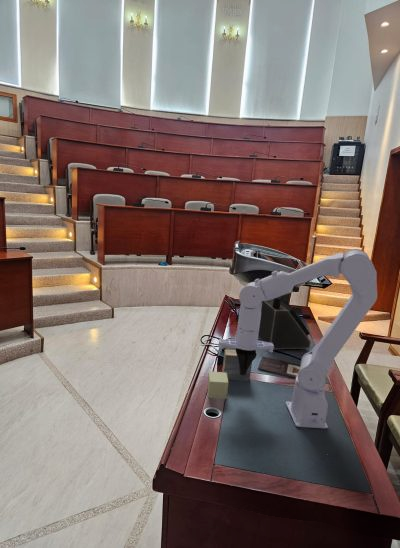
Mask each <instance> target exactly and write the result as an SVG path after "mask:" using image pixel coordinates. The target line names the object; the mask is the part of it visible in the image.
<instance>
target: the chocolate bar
mask: <svg viewBox="0 0 400 548" xmlns="http://www.w3.org/2000/svg"><path fill="white" fill-rule="evenodd" d="M300 366H301V364H297V363H294V362H289V361H285V360H281V359H276V358H272V357H268V356H264V355H263V356H262V357H261V360H260V362H259V365H258V366H257V367H258V368H257V370H258V371H263V372H265V373H270V374H274V375H278V376H282V377H287V378H291V379H295V380H296V376H297V375H298V373H299V371H300Z"/></svg>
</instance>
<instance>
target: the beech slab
mask: <svg viewBox="0 0 400 548" xmlns="http://www.w3.org/2000/svg"><path fill="white" fill-rule="evenodd" d="M223 352H224V353H223V354H224V355H223V361H222V362H223V363H222V372H223V373H227V378H228V381H229V380H230V381H231V380H232V381H246V382H249V381H250V380H251V375H252V374H251V372H252V366H253V362H252V363H251V364H250V366H249V368H248V370H247V372H246V375H240V372H239V370H240V368H239V360H238V356H237V353H236V350H235V349H224V351H223Z"/></svg>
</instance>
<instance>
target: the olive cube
mask: <svg viewBox="0 0 400 548" xmlns="http://www.w3.org/2000/svg"><path fill="white" fill-rule="evenodd" d="M207 377H208V378H207V387H206V388H207V398H209V399H224V400H225V399H227V397H228V389H229V380H228V378H227V373H223V372H221V371H208V376H207Z"/></svg>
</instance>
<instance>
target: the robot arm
mask: <svg viewBox="0 0 400 548" xmlns="http://www.w3.org/2000/svg"><path fill="white" fill-rule="evenodd" d="M377 273H378V272H377V270H376V269H375V266H374V263H373V261H372V260H371V259H370V257H369V255H368V254H367V253H366V252H365V251H364V250H362V249H360V248H351V249H348V250H347V251H345V252H344V253H343V252H338V253H335V254H331V255H329V256H326V257H324V258H322V259H319V260H316V261H314V262H313V263H311V264H308V265H305V266H304V267H301V268H299V269H296V270H293V271H292V272H286V271H284V270H280V271H278V270H274V271H272V272H271V274H270V275H268V276H266V277H264V278H256V279H255V280H254V281H252V282H249V283H247V284H246V285H245V286H244V287H243V288H242V289H241V290H240V291H239V295H238V299H239V302H240V307H239V312H238V320H237V329H236V336H235V338H226V339H224V338H222V339H221V338H219V339H218V349H219V350H224V349H229V350H236V353H237V356H238V360H239V368H240V370H239V372H240V375H246V372H247V370H248V368H249V366H250V364H251V363H252V364H253V361H254V360H255V359H256V357H257V355H258V353H257V351H259V352H260V351H261V352H262V351H264V352H268V353H274V351H273V349H274V345H273V344H272V343H269V342H263V341H262V340H259V337H258V334H259V327H260V320H261V308H262V303H261V302H262V301H269V300H272V299H274V298H277V297H280V298H281V297H282V296H285V295H288V294H290V293H292V291H293V289H294V287H295V286H297V285H299V284H304V283H306V282H309V281H312V280H315V279H317V278H322V277H323V276H329V277H332V278H336V279H340V274H341V275H342V276H343V277H344V279H345V280H346V281H347V283H348V284H349V287H350V290H351V295H350V296H349V298H348V299H347V301H346V303H345V304H344V305H343V306H342V308H341V309H340V311H339V312H338V313H337V315H336V317H335V318H334V320H333V321H332V323H331V325H330V326H329V327H328V328H327V330H326V331H325V333H324V335H322V337H321V339H320V341H318V343H316V345H315V346H313V348H312V349H311V350H310V351H308V352H306V353H305V354H303V356H302V357H301V360H300V365H301V366H300V371H299V373H298V375H297V376H296V379H295V382H294V387H293V393H292V398H291V401H285V405H286V407H287V410H288V411H289V414H290V416H291V418H292V421H293V422H294V425H295V427H298V428H310V429H311V428H314V429H328V427H329V426H328V424H327V423H326V420H327V419H326V418H327V414H328V409H329V404H328V401H327V399H326V395H325V391H326V390H325V389H326V377H327V374H329V372H330V370H331V367H332V364H333V362H334V361H335V358H336V357H337V356H338V354H339V353H340V351H341V350H342V348H343V347H344V345H346V343H347V342H348V340H349V339H350V338H351V337H352V335H353V333H354V332H355V330H356V329H357V328H358V326H359V325H360V324H361V323H362V321H363V320H364V318H365V317H366V315H367V314H368V312H369V311H370V310H371V309H372V307H373V306H374V305H375V303H376V302H377V299H378V286H377V281H378V280H377V275H378V274H377Z"/></svg>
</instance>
